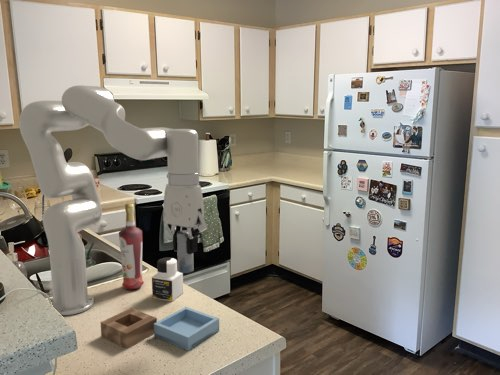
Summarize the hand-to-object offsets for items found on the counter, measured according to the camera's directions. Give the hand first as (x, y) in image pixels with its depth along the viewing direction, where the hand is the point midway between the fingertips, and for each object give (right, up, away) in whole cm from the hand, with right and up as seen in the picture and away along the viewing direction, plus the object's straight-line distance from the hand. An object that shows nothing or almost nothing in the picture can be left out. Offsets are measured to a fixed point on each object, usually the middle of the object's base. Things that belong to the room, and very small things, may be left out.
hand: (185, 250), depth 112 cm
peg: (0, -5, +1) cm, 5 cm away
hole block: (-15, -23, +4) cm, 27 cm away
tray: (0, -22, +4) cm, 23 cm away
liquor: (-22, -17, +34) cm, 44 cm away
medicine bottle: (-9, -18, +27) cm, 34 cm away
